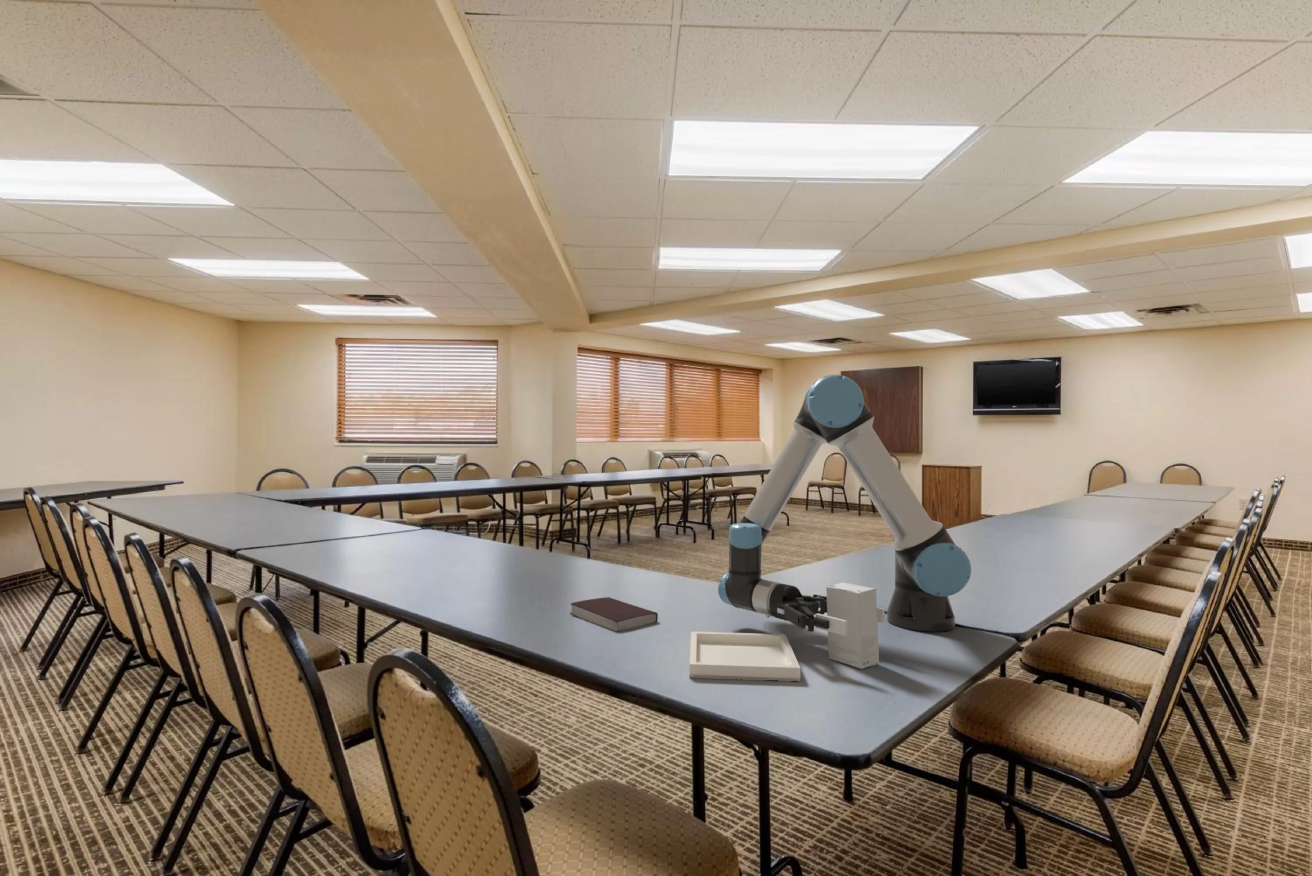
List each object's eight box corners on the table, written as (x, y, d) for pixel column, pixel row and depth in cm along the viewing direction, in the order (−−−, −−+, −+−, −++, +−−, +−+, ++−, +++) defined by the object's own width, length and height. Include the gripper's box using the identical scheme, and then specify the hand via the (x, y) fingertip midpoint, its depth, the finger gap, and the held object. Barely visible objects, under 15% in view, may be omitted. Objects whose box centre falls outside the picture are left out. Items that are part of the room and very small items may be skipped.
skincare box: (879, 664, 124) (880, 588, 124) (859, 670, 120) (860, 592, 121) (844, 652, 131) (845, 580, 131) (825, 658, 127) (825, 584, 127)
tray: (785, 646, 134) (785, 634, 134) (800, 681, 115) (800, 668, 115) (690, 643, 136) (691, 631, 136) (689, 677, 116) (689, 664, 116)
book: (609, 607, 166) (609, 595, 166) (658, 623, 152) (658, 610, 152) (569, 616, 158) (569, 603, 158) (616, 634, 143) (616, 619, 143)
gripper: (811, 608, 148) (897, 629, 132) (740, 628, 131) (828, 654, 115) (812, 575, 148) (898, 592, 132) (740, 591, 131) (828, 613, 115)
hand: (865, 621), depth 123 cm, fingers open, 13 cm apart
